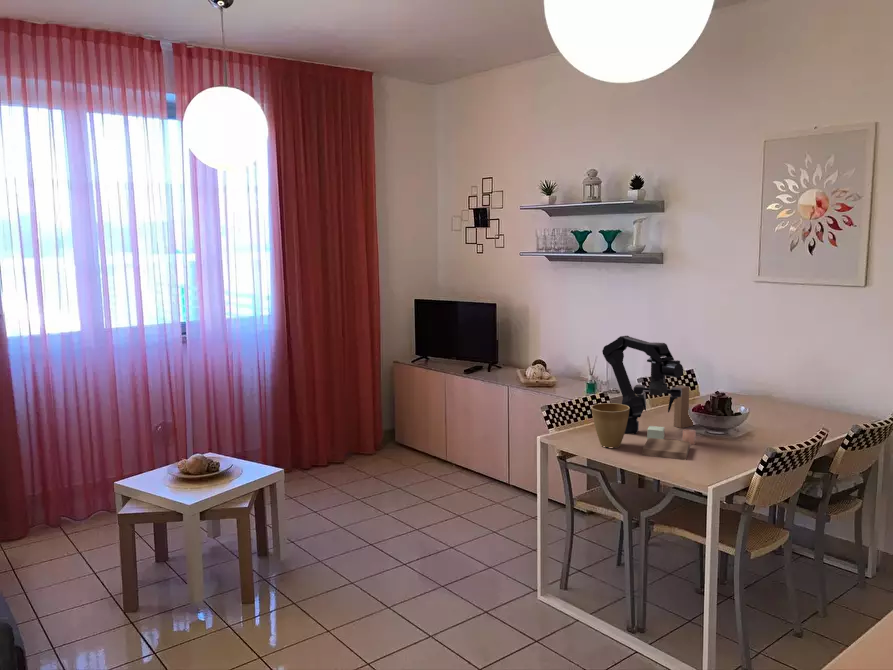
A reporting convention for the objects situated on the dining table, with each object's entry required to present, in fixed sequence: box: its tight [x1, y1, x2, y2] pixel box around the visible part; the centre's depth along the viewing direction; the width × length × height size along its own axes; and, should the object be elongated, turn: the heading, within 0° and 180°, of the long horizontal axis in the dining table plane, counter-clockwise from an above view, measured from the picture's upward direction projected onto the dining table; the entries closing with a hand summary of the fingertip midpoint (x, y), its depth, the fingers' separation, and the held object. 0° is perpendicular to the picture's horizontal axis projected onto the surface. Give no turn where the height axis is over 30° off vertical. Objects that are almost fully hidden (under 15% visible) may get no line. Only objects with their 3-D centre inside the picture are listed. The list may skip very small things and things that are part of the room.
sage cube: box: [646, 425, 665, 441], centre depth 299 cm, size 6×6×5 cm
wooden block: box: [673, 384, 694, 429], centre depth 318 cm, size 9×4×18 cm, turn 119°
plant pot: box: [590, 402, 630, 449], centre depth 291 cm, size 15×15×16 cm
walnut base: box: [642, 438, 691, 460], centre depth 283 cm, size 16×16×2 cm
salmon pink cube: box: [681, 428, 697, 446], centre depth 294 cm, size 5×5×5 cm
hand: (656, 411), depth 297 cm, fingers open, 9 cm apart
